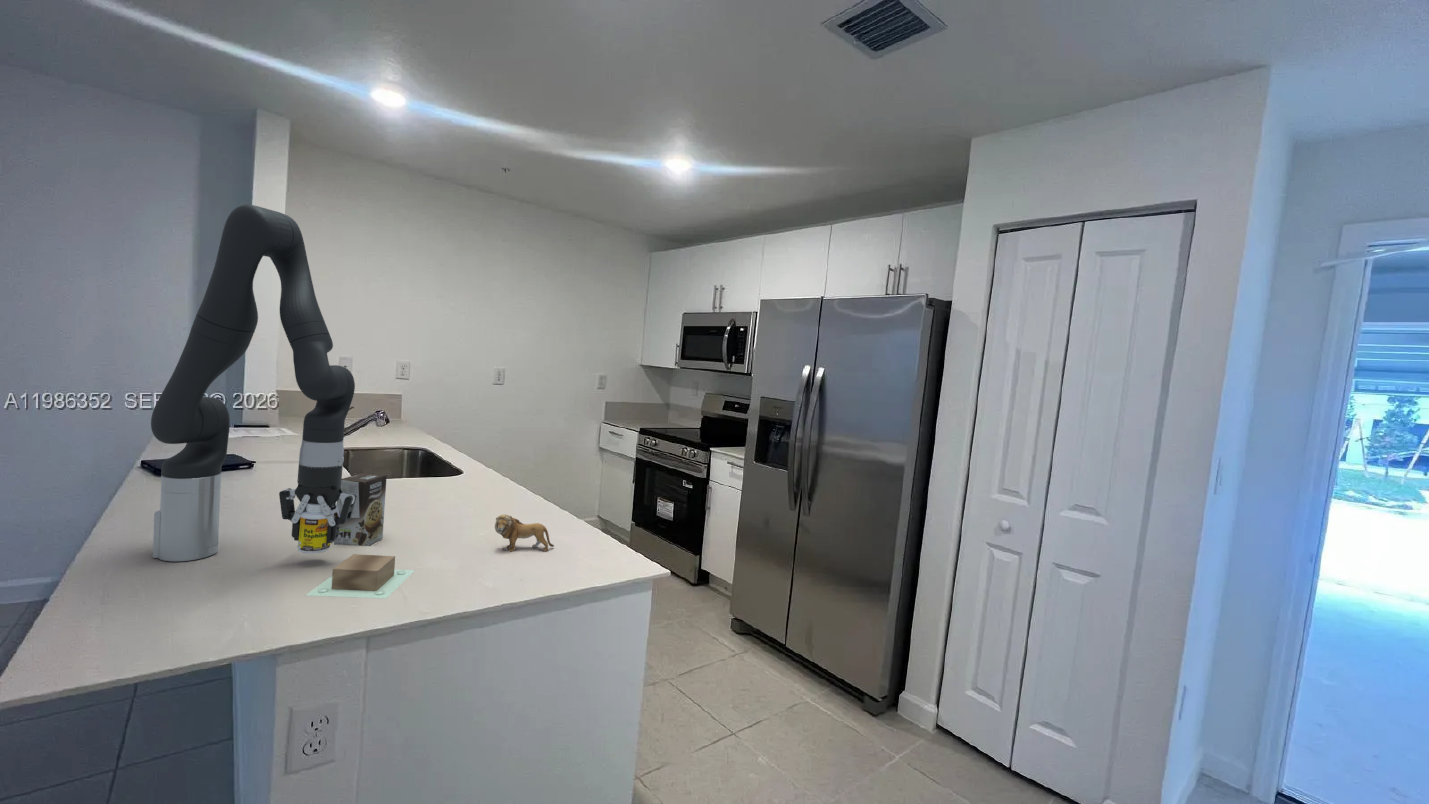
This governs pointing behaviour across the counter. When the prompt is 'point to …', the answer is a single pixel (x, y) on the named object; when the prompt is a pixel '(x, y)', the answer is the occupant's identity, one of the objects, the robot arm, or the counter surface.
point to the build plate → (382, 592)
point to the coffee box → (363, 510)
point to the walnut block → (363, 572)
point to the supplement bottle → (313, 530)
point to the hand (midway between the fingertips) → (315, 540)
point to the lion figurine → (521, 531)
